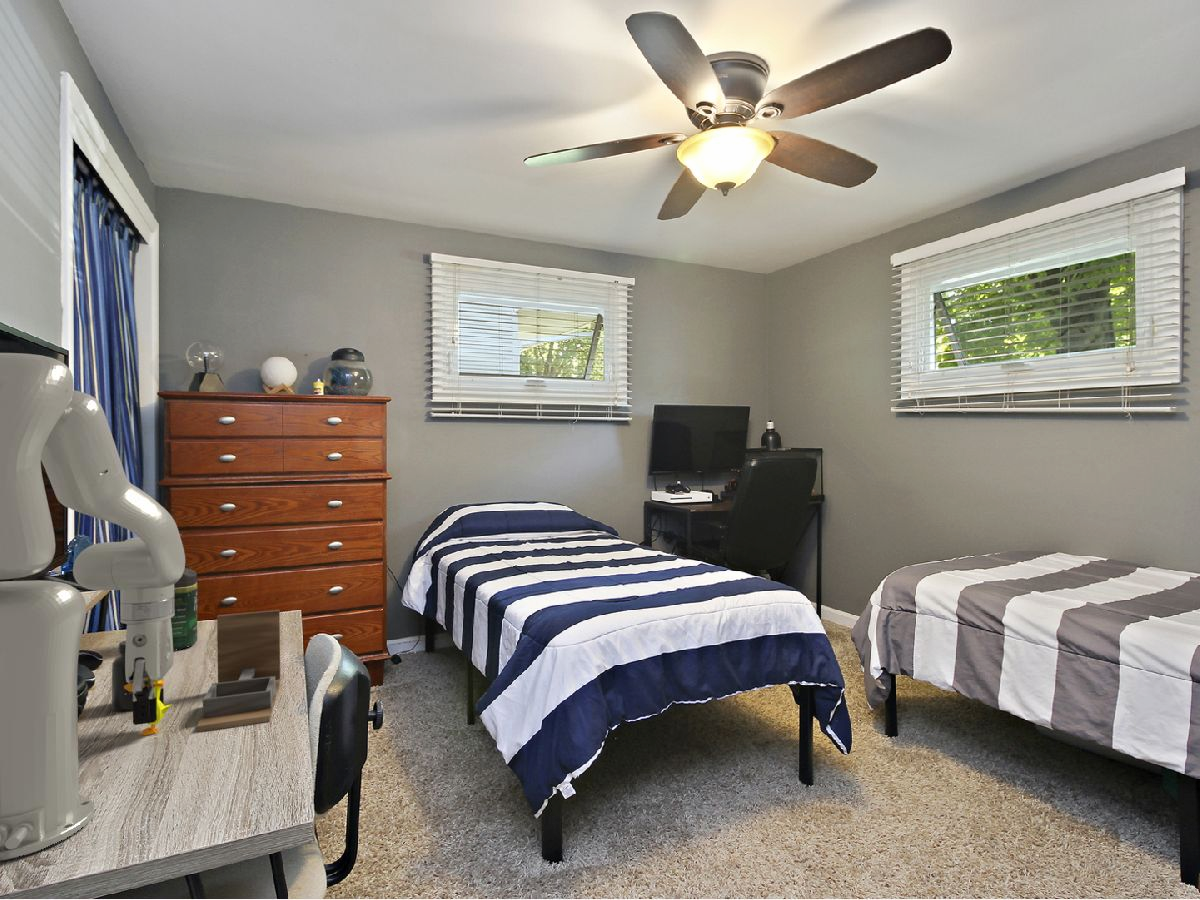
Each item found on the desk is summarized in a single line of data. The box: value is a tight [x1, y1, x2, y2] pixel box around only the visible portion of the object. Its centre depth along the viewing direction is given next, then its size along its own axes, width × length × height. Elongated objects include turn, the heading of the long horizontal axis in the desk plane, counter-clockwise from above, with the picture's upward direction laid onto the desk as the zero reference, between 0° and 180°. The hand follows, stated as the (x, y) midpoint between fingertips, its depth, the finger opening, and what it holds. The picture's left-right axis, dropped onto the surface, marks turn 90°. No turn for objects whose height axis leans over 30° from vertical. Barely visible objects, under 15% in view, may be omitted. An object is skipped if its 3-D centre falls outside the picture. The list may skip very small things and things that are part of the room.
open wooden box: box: [196, 609, 281, 733], centre depth 121 cm, size 20×11×15 cm, turn 21°
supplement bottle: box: [111, 639, 133, 712], centre depth 121 cm, size 7×7×12 cm
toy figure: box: [124, 677, 173, 736], centre depth 109 cm, size 7×4×12 cm, turn 112°
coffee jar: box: [171, 567, 198, 651], centre depth 157 cm, size 10×8×19 cm
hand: (148, 716), depth 109 cm, fingers closed on toy figure, 3 cm apart
